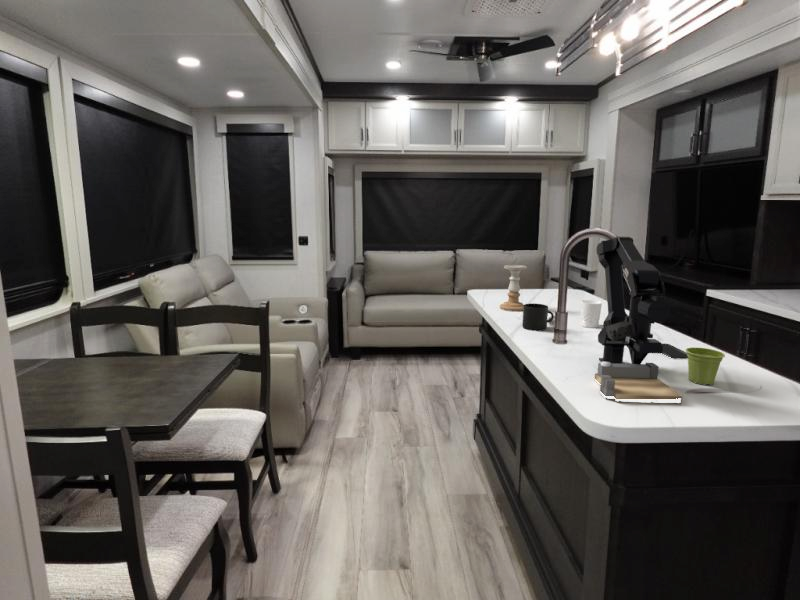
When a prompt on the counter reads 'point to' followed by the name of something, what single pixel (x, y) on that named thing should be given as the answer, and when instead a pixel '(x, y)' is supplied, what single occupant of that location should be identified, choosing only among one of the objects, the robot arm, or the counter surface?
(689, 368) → the plant pot
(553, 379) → the counter surface
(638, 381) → the tan wooden slab
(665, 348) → the phone
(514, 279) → the candle holder
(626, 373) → the folding leg
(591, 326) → the white cup
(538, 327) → the mug
